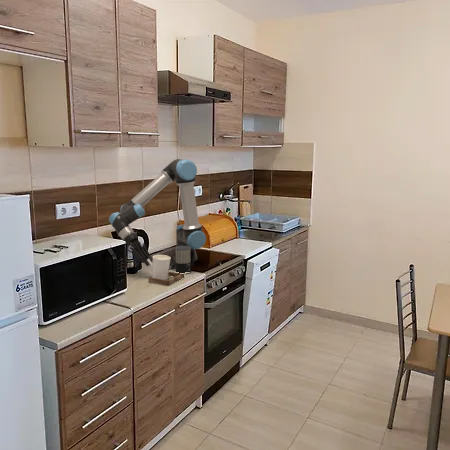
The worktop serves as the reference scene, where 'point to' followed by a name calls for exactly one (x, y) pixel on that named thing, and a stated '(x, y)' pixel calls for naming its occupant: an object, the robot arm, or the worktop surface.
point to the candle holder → (160, 266)
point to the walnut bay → (167, 282)
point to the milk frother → (183, 259)
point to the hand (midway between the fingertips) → (153, 269)
